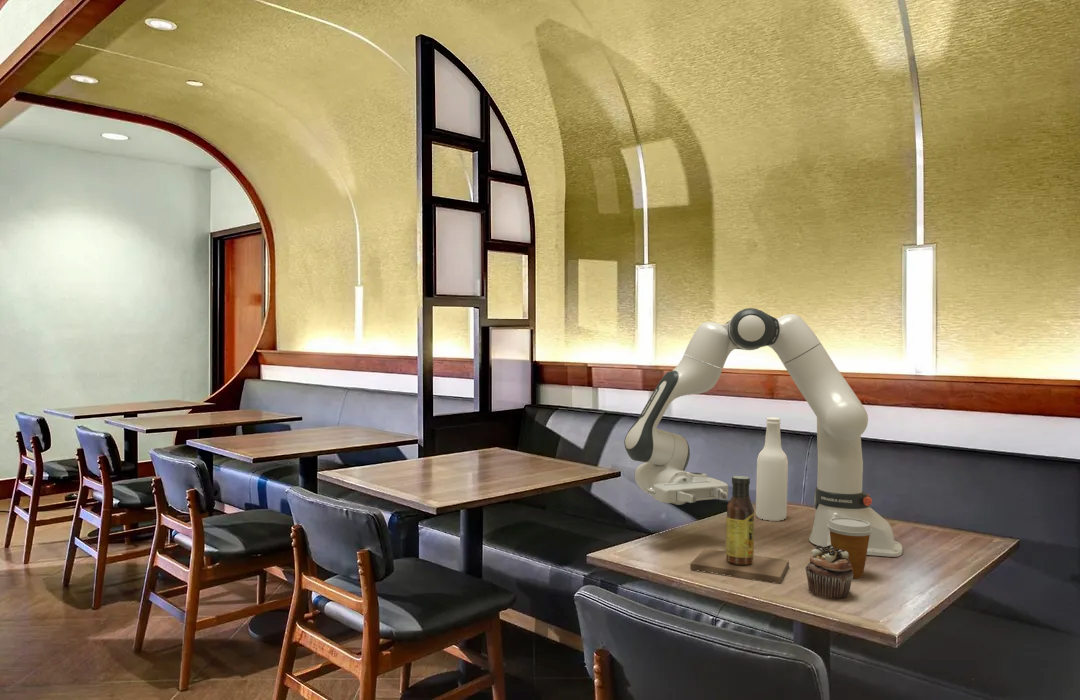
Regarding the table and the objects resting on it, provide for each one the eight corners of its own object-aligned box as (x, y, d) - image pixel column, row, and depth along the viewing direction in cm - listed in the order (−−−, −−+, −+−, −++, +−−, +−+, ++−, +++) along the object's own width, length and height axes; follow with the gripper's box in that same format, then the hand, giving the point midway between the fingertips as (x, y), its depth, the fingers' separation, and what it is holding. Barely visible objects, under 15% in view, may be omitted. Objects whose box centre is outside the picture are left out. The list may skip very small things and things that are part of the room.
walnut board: (788, 566, 180) (788, 560, 180) (780, 583, 167) (780, 577, 167) (704, 554, 188) (704, 548, 188) (690, 570, 175) (690, 563, 175)
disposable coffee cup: (879, 579, 171) (881, 526, 171) (840, 581, 169) (842, 527, 169) (855, 566, 180) (856, 516, 180) (818, 568, 179) (819, 517, 179)
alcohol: (773, 513, 232) (775, 415, 232) (792, 520, 224) (795, 419, 223) (749, 515, 229) (752, 416, 228) (768, 522, 221) (771, 419, 220)
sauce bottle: (754, 567, 173) (756, 480, 173) (726, 565, 175) (728, 479, 174) (752, 559, 180) (754, 475, 179) (724, 557, 181) (726, 474, 181)
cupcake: (862, 595, 161) (863, 548, 160) (835, 604, 155) (836, 555, 155) (822, 582, 168) (823, 537, 168) (795, 590, 163) (796, 544, 163)
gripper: (643, 477, 196) (674, 488, 184) (708, 472, 205) (742, 482, 192) (643, 501, 196) (674, 513, 184) (707, 496, 205) (741, 507, 192)
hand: (709, 497), depth 188 cm, fingers open, 8 cm apart
